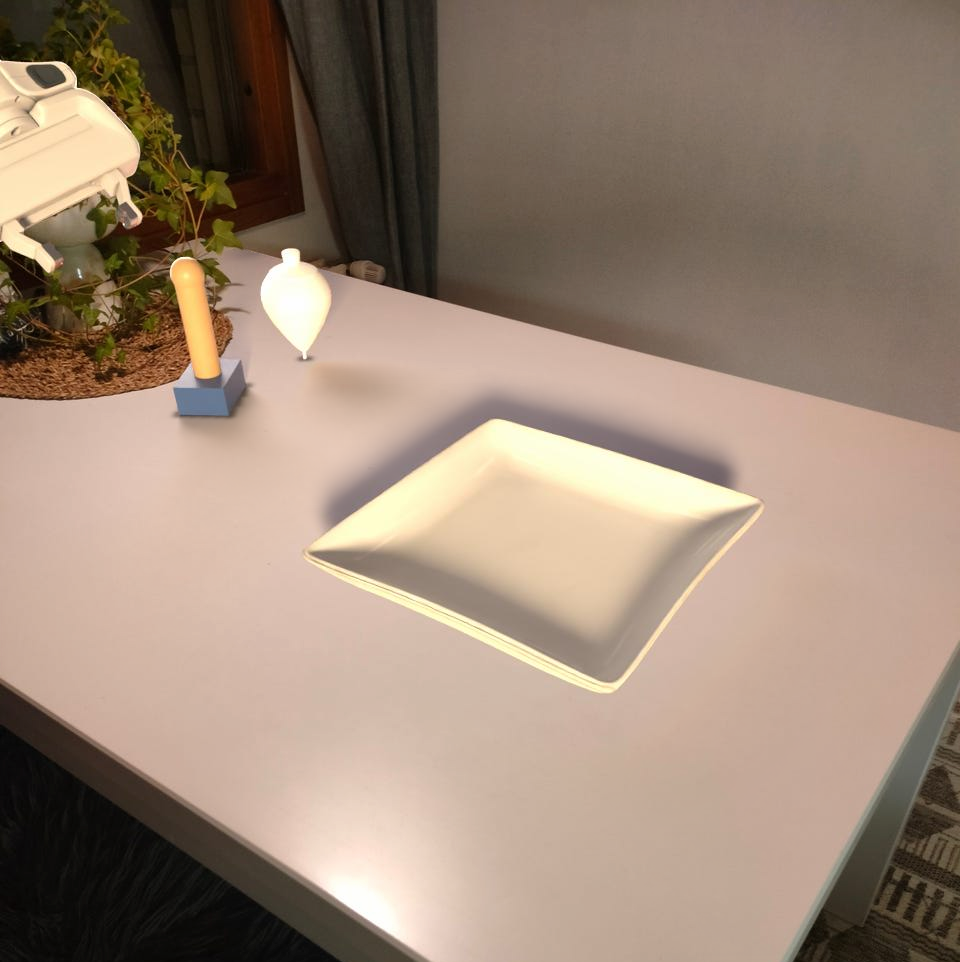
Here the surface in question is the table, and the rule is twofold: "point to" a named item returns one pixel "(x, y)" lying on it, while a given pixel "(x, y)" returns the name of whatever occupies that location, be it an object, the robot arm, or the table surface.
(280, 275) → the spinning top
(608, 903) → the table surface
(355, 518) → the square plate
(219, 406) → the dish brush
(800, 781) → the table surface
